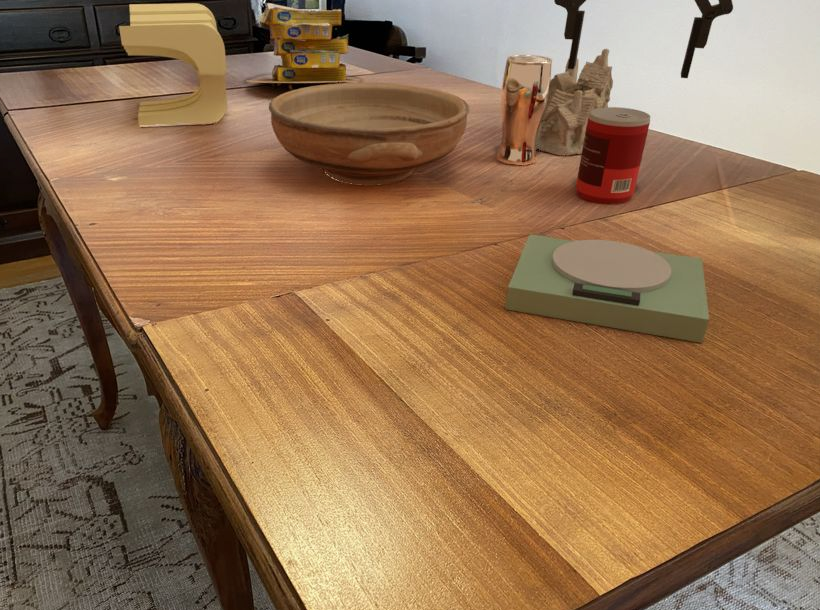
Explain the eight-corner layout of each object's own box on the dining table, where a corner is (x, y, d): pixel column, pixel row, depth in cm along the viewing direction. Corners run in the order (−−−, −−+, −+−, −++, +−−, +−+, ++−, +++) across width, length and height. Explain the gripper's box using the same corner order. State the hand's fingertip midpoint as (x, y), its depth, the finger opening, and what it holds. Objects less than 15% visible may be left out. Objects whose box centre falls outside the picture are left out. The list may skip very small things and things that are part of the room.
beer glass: (484, 159, 112) (495, 58, 104) (512, 150, 115) (524, 52, 108) (520, 169, 107) (534, 64, 99) (547, 160, 111) (563, 59, 103)
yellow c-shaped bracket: (232, 136, 122) (222, 23, 112) (137, 141, 119) (119, 26, 110) (222, 97, 147) (214, 2, 137) (143, 101, 144) (129, 4, 134)
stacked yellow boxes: (254, 77, 165) (248, -2, 156) (360, 78, 165) (360, -2, 156) (240, 101, 144) (233, 11, 135) (361, 102, 144) (362, 12, 135)
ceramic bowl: (266, 140, 120) (262, 78, 114) (429, 134, 123) (433, 74, 118) (280, 221, 89) (276, 141, 83) (498, 210, 92) (508, 133, 87)
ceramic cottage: (554, 122, 130) (566, 35, 122) (627, 146, 119) (646, 53, 110) (491, 140, 123) (499, 49, 115) (563, 168, 112) (578, 70, 104)
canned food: (639, 192, 99) (658, 112, 93) (622, 209, 93) (641, 124, 87) (585, 182, 102) (600, 104, 96) (566, 197, 97) (580, 115, 91)
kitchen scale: (695, 279, 75) (703, 252, 74) (702, 343, 64) (711, 312, 63) (526, 254, 81) (530, 228, 79) (504, 309, 69) (508, 280, 68)
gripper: (549, -133, 79) (523, 68, 90) (800, -133, 71) (736, 86, 83) (557, -130, 85) (531, 58, 96) (789, -130, 77) (731, 74, 89)
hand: (626, 71), depth 89 cm, fingers open, 13 cm apart
